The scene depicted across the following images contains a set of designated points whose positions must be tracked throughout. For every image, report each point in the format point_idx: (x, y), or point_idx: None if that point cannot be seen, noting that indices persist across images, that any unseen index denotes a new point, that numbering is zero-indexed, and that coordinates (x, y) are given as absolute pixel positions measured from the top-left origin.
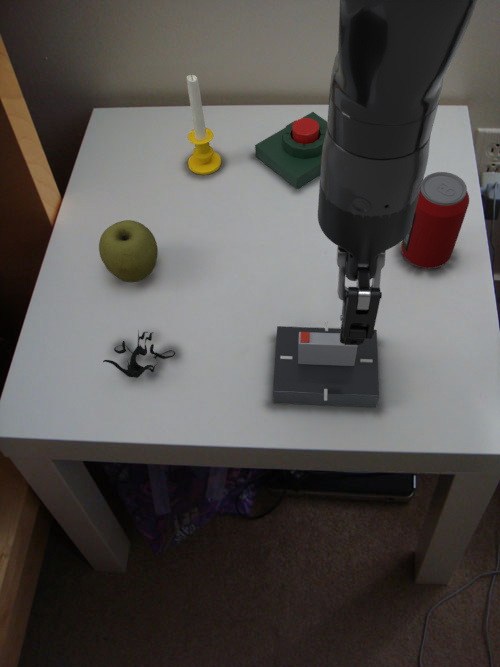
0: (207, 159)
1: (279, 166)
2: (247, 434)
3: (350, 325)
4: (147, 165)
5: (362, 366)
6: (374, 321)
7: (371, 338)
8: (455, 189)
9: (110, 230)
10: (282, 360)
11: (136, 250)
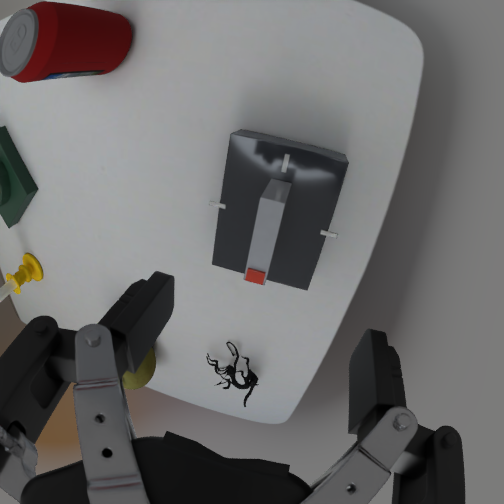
0: (29, 269)
1: (20, 209)
2: (338, 303)
3: (412, 476)
4: (47, 307)
5: (293, 171)
6: (462, 500)
7: (459, 437)
8: (19, 24)
9: None
10: None
11: (131, 374)
